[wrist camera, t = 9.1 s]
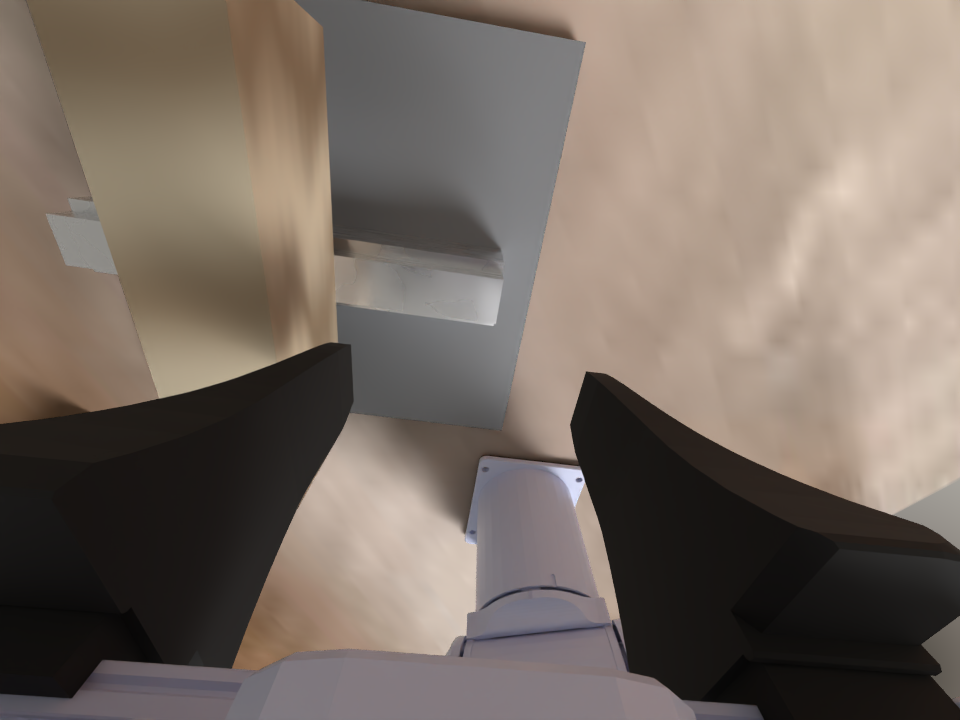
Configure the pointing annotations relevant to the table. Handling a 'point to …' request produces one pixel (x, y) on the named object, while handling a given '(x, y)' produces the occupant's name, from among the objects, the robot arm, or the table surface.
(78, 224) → the metal ridge
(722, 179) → the table surface
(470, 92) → the base plate
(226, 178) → the beech bar
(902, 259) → the table surface
